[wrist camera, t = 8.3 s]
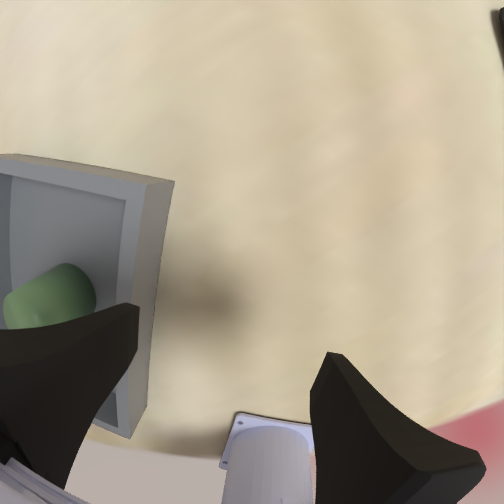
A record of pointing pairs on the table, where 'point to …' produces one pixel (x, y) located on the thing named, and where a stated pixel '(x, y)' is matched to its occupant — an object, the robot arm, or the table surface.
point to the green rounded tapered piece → (50, 299)
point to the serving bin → (88, 248)
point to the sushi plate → (502, 17)
